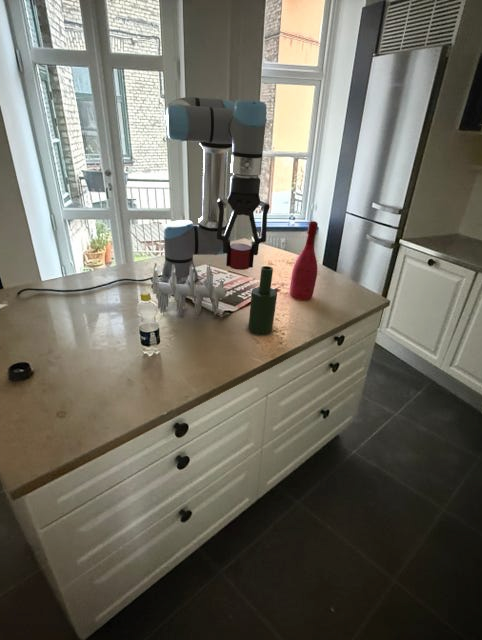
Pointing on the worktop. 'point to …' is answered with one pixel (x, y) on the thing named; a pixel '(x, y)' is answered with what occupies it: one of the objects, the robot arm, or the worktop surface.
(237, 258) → the cap
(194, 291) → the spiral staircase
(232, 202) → the robot arm
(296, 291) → the wine bottle
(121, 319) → the worktop surface
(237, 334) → the worktop surface
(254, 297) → the oil bottle
